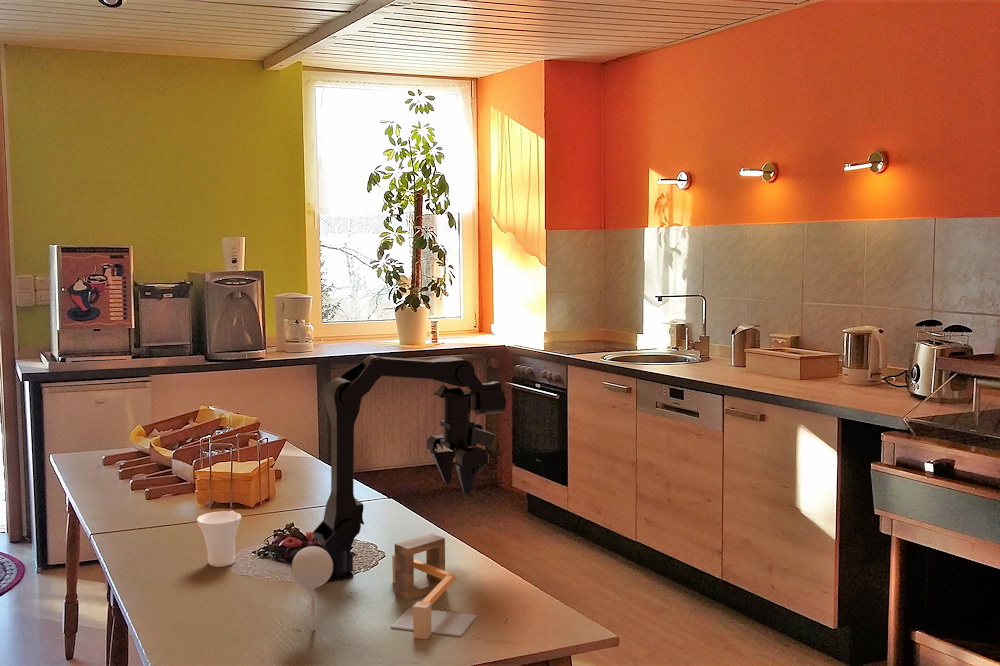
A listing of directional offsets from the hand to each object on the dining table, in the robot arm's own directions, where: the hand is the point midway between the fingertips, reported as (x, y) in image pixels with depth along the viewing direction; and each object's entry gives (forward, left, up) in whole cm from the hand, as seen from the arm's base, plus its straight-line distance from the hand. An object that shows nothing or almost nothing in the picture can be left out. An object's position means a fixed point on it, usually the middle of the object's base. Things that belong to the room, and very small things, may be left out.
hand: (457, 488), depth 211 cm
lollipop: (-40, -23, -15) cm, 48 cm away
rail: (-19, -22, -14) cm, 33 cm away
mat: (-20, -30, -14) cm, 39 cm away
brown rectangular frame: (-16, -15, -15) cm, 26 cm away
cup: (-46, +20, -15) cm, 52 cm away
